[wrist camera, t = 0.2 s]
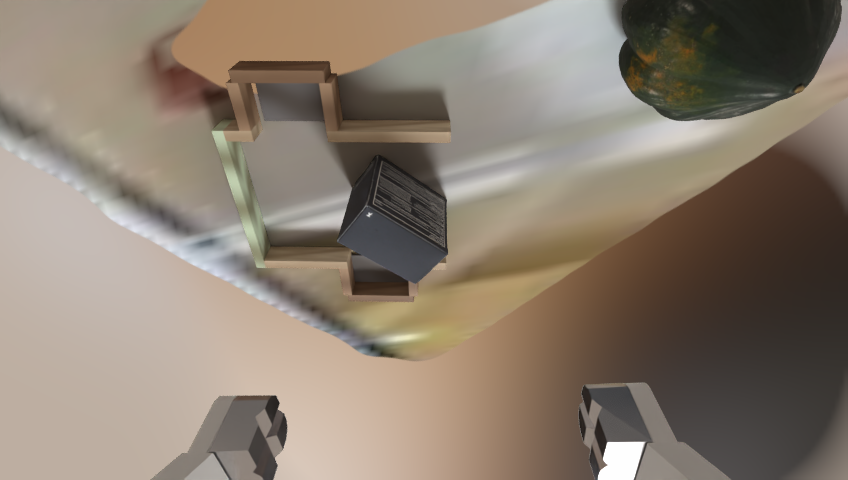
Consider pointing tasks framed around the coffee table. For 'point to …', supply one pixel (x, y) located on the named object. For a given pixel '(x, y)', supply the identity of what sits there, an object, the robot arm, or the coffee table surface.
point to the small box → (395, 221)
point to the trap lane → (320, 101)
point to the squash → (723, 53)
